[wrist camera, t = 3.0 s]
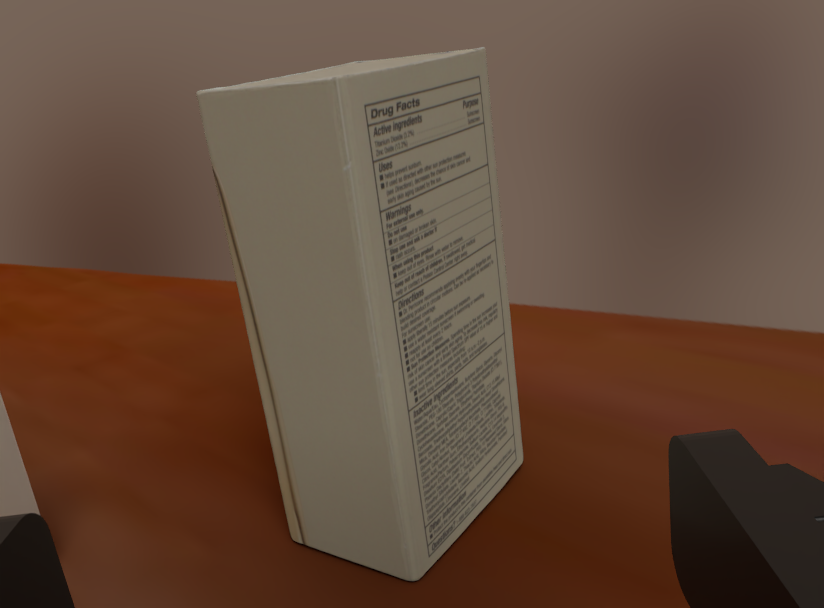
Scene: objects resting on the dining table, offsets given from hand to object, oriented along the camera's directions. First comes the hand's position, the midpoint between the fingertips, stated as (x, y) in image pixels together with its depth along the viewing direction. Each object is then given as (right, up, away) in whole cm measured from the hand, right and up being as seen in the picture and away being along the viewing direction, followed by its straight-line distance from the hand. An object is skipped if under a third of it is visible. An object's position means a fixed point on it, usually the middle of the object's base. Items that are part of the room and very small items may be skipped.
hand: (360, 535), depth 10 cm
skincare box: (+1, -3, +12) cm, 13 cm away
